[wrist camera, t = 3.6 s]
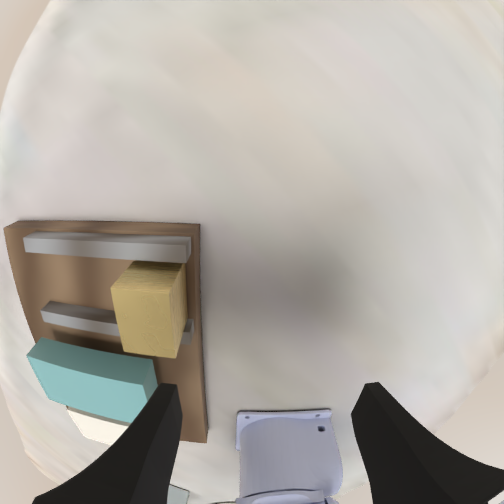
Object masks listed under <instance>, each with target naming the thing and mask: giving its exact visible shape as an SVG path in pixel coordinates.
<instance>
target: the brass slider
mask: <svg viewBox="0 0 504 504" xmlns="http://www.w3.org/2000/svg"><path fill="white" fill-rule="evenodd" d="M111 294H112V300H113V305H114V310H115V315H116V320H117V324H118V329H119V333H120V338H121V342H122V346H123V350H124V352H130V353H137V354H143V355H151V356H158V357H167V358H176V356H177V352H178V349H179V345H180V342H181V339H182V335H183V332H184V329H185V325H186V322H187V319H188V311H187V292H186V267H185V263H173V262H156V261H141V260H134V261H133V262H132V263H131V265H130V266H129V267H128V268H127V269H126V270H125V271H124V273H123V274H122V275H121V276H120V277H119V278H118V280H117V281H116V282H115V283H114V284H113V285H112V287H111Z"/></svg>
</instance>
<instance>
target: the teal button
mask: <svg viewBox="0 0 504 504" xmlns="http://www.w3.org/2000/svg"><path fill="white" fill-rule="evenodd" d="M26 356H27V358H28V360H29V362H30V364H31V366H32V368H33V370H34V372H35V374H36V376H37V378H38V380H39V382H40V384H41V386H42V388H43V389H44V391H45V393H46V395H47V397H48V398H49V399H50V400H53V401H55V402H58V403H61V404H64V405H67V406H70V407H73V408H76V409H79V410H82V411H86V412H89V413H93V414H96V415H100V416H104V417H107V418H111V419H116V420H120V421H124V422H129V423H132V422H133V420H134V419H135V418H136V417H137V415H138V414H139V413H140V411H141V410H142V409H143V407H144V406H145V404H146V403H147V402H148V400H149V399H150V397H151V396H152V394H153V393H154V391H155V390H156V388H157V386H158V384H157V380H156V375H155V370H154V366H153V361H152V359H145V358H139V357H132V356H126V355H120V354H114V353H109V352H103V351H98V350H93V349H89V348H84V347H79V346H75V345H71V344H66V343H62V342H58V341H54V340H51V339H47V338H43V337H41V338H40V339H39V341H38V342H37V343H36V344H35V346H34V347H33V348H32V349H31V350H30V352H29V353H28V354H27V355H26Z"/></svg>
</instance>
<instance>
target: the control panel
mask: <svg viewBox="0 0 504 504" xmlns="http://www.w3.org/2000/svg"><path fill="white" fill-rule="evenodd" d="M4 234H5V240H6V245H7V250H8V255H9V260H10V264H11V268H12V272H13V276H14V280H15V284H16V288H17V291H18V295H19V298H20V301H21V304H22V307H23V311H24V314H25V316H26V319H27V322H28V325H29V328H30V330H31V333H32V336H33V338H34V341H35V343H37V342H38V341H39V339H40V338H41V337H43V338H47V339H51V340H54V341H58V342H62V343H66V344H71V345H75V346H79V347H84V348H89V349H93V350H98V351H103V352H109V353H114V354H120V355H126V356H132V357H139V358H145V359H152V361H153V366H154V370H155V375H156V380H157V384H158V385H159V384H160V383H169V384H177V387H178V393H179V398H180V403H181V408H182V413H183V419H182V428H181V436H180V441H189V442H198V443H207V434H208V422H207V411H206V399H205V385H204V370H203V353H202V332H201V303H200V224H183V223H154V222H115V221H17V222H15V223H13V224H11V225H9V226H7V227H5V228H4ZM134 260H141V261H156V262H173V263H185V267H186V292H187V311H188V319H187V322H186V325H185V329H184V332H183V335H182V339H181V342H180V345H179V349H178V352H177V356H176V358H167V357H158V356H151V355H143V354H137V353H130V352H124V350H123V346H122V342H121V338H120V333H119V329H118V324H117V320H116V315H115V310H114V305H113V300H112V294H111V287H112V285H113V284H114V283H115V282H116V281H117V280H118V278H119V277H120V276H121V275H122V274H123V273H124V271H125V270H126V269H127V268H128V267H129V266H130V265H131V263H132V262H133V261H134ZM66 407H67V408H68V406H67V405H66Z"/></svg>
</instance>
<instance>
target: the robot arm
mask: <svg viewBox="0 0 504 504" xmlns="http://www.w3.org/2000/svg"><path fill="white" fill-rule="evenodd" d="M331 415H332V412H331V410H328V409H327V410H315V411H297V412H239V413H237V426H236V450H237V451H240V498H236V504H339V503H338V502H337V501H336V500H334V499H333V498H331V497H328V496H333V495H335V494H337V493H338V491H339V490H340V487H341V484H342V478H343V469H342V461H341V457H340V453H339V449H338V445H337V441H336V437H335V433H334V430H333V426H332V422H331V418H330V417H331ZM351 417H352V423H353V428H354V434H355V437H356V441H357V444H358V447H359V450H360V453H361V456H362V459H363V462H364V465H365V468H366V471H367V475H368V478H369V482H370V487H371V493H372V499H373V504H488V501H489V500H491V499H492V498H494V497H495V496H496V495H498V494H499V493H500V492H502V491H503V490H504V470H502V469H499V468H496V467H492V466H489V465H486V464H483V463H481V462H478V461H476V460H474V459H472V458H469V457H467V456H465V455H464V454H461V453H460V452H458V451H456V450H455V449H453V448H451V447H450V446H448V445H447V444H445V443H444V442H443V441H441V440H440V439H438V438H437V437H435V436H434V435H433V434H432V433H431V432H429V431H428V430H427V429H426V428H425V427H424V426H422V425H421V424H420V423H419V422H418V421H417V420H416V419H415V418H414V417H413V416H411V415H410V414H409V413H408V412H407V411H406V410H405V409H404V408H403V407H402V406H401V405H400V404H399V403H398V401H397V400H396V399H395V398H394V397H393V396H392V395H391V394H390V393H389V392H388V391H387V390H386V389H385V388H384V387H383V386H382V385H381V384H380V383H379V382H375V383H367V384H365V385H364V388H363V390H362V392H361V394H360V396H359V399H358V401H357V403H356V405H355V407H354V409H353V411H352V413H351ZM182 419H183V413H182V408H181V403H180V398H179V393H178V387H177V384H169V383H160V384H159V385H158V386H157V388H156V390H155V391H154V393H153V394H152V396H151V397H150V399H149V400H148V402H147V403H146V404H145V406H144V407H143V409H142V410H141V411H140V413H139V414H138V415H137V417H136V418H135V419H134V420H133V422H132V423H131V424H130V425H129V427H128V428H127V429H126V430H125V431H124V432H123V434H122V435H121V436H120V437H119V438H118V439H117V440H116V441H115V442H114V443H113V444H112V446H111V447H110V448H109V449H107V450H106V451H105V452H104V453H103V454H102V455H101V456H100V457H99V458H98V459H97V460H95V461H94V462H93V463H92V464H90V465H89V466H88V467H87V468H85V469H84V470H83V471H81V472H80V473H79V474H77V475H76V476H74V477H73V478H71V479H69V480H68V481H66V482H65V483H63V484H61V485H60V486H58V487H56V488H54V489H52V490H50V491H48V492H46V493H44V494H41V495H39V496H37V497H35V499H34V501H33V503H32V504H167V498H168V489H169V484H170V479H171V475H172V470H173V466H174V462H175V458H176V454H177V450H178V445H179V441H180V436H181V428H182ZM324 497H326V498H324ZM499 504H504V501H502V502H501V503H499Z"/></svg>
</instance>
